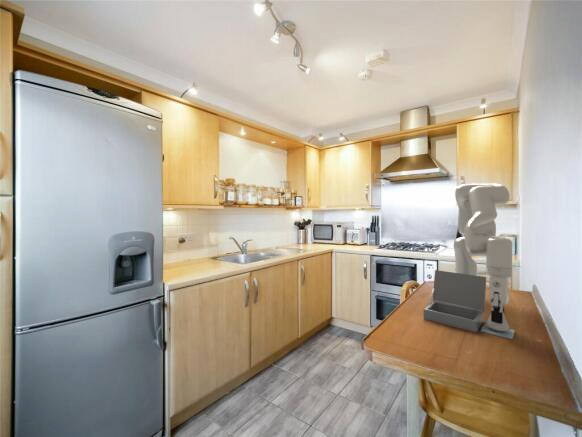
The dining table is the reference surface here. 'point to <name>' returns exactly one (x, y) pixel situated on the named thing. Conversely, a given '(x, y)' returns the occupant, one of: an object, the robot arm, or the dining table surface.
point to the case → (454, 315)
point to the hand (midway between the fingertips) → (497, 319)
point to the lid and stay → (459, 289)
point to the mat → (498, 332)
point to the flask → (498, 326)
